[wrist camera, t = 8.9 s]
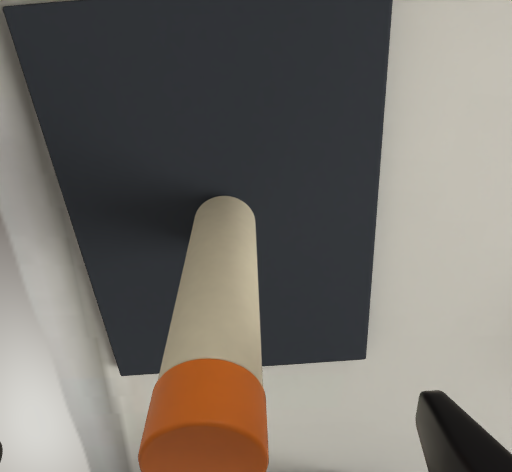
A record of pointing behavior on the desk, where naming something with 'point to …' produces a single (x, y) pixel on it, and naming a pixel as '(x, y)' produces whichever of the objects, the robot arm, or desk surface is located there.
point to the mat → (216, 154)
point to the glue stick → (212, 355)
